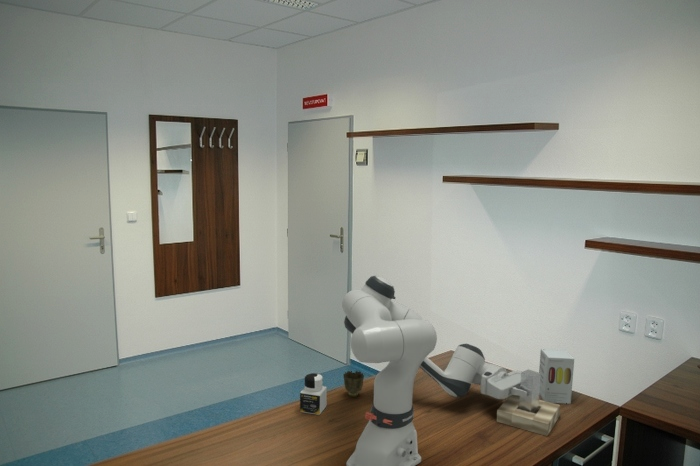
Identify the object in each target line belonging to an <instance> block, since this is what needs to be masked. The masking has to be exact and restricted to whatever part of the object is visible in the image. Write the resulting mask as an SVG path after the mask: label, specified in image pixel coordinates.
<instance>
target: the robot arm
mask: <svg viewBox="0 0 700 466" xmlns="http://www.w3.org/2000/svg"><path fill="white" fill-rule="evenodd" d="M395 292H396V291H395V287H394V286H393V285H392V283H391V282H390V281H389V280H388V279H387V278H385V277H383V276H379V275H378V276H377V275H371V276H370V277H369V278H367V280H366V281H365V284H364V285H363V286H362V287H361V289H357V288H356V289H352V290H350V291H348V292H347V293H346V294H345V295H344V297H343V298H342V303H341V305H342V309H343V312H344V314H345V316H344V321H343V325H344V328H345V329H346V330H347V331H348V332H349V333H350V334H351V337H350V350H351V353H352V354H353V356H354V357H355V359H356V360H357V361H359V362H360V363H363V364H364V363H366V364H380V363H382V364H383V363H387V364H386V366H385V367H383V369H382V370H380V371H379V372H378V373H377V374H376V376H375V378H374V381H373V402H372V405H371V407H370V411H366V412H365V414H364V415H365V417H364V419H365V420H369V421H368V422H367V423H366V426H365V427H364V429H363V431H362V433H361V434H360V437H359V438H358V440H357V442H356V444H355V445H356V446H355V450H354V451H353V453H352V454H351V455H350V457H348V459H347V460H346V463H345V465H346V466H416V465H418V464H420V463H421V462H422V456H421V455H420V453H419V452H418V451H419V449H418V433H417V429H416V427H415V425H414V423H413V420H414V415H415V414H414V413H415V411H414V405H413V394H414V393H413V392H414V382H415V380H416V379H415V378H416V376H417V374H418V371H419V369H421V370H422V371H423V372H424V373H426V374H427V375H428V376H430V378H431V379H433V380H434V381H435V382H436V383H437V384H438V386H440V387H441V388H442V389H443V390H444V391H445V392H446V393H447V394H449V395H450V396H452V397H455V398H462V397H464V396H466V395H468V394H469V391H470V389H471V386H472V384H474V385H479V386H480V393H481V394H482V395H487V396H489V397H492V398H494V399H498V400H505V399H507V398H508V397H509V396H511V395H517V396H523V397H527V396H528V393H529V392H528V391H526V390H520V383H521V372H523V371H521V370H512V371H510V372H508V371H507V369H506V368H505V367H503V366H499V365H497V364H493V363H489V362H486V357H485V355H484V353H483V352H482V350H481V349H480V348H479V347H477V346H475V345H472V344H469V343H462V344H459V345H457V347H456V348H455V350H454V352H453V354H452V356H451V358H450V360H449V363H448V365H446V368H445V369H444V370H443V369H441V368H440V367H439V366H438V365H437V364H435V362H433V361H432V360H431V359H430V358H428V356H429V355H430V354H431V353H432V352H433V351H434V350H435V348H436V345H437V342H438V336H437V331H436V328H435V327H434V325H433V324H432V323H431V322H430V321H429V320H427V319H423V318H422V316H421V315H420V314H418V313H417V312H416V311H414V310H412V308H409V307H408V306H406V305H404V304H402V303H399V302H397V301H396V296H395V294H396V293H395Z"/></svg>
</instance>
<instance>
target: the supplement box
mask: <svg viewBox="0 0 700 466" xmlns="http://www.w3.org/2000/svg"><path fill="white" fill-rule="evenodd" d="M539 353H540V355H539V365H538V366H539V367H538V368H539V370H538V373H541V375H540V390H539V397H541V399H542V401H546V402H550V403H554V404H566V403H567V404H568V405H569V404H570V405H571V403H572V389H573V378H574V367H575V357H573V356H572V355H571V354H570V353H569V351H567V350H566V349H550V348H548V349H547V348H540V352H539Z"/></svg>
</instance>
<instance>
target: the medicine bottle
mask: <svg viewBox="0 0 700 466" xmlns="http://www.w3.org/2000/svg"><path fill="white" fill-rule="evenodd" d="M323 380H324V378H323V375H321V374H320V373H315V372H314V373H308V374H306V375H305V376H304V388H303V389H302V390H301V391H300V392H299V412H300V413H304V414H311V415H318V416H320V415H321V414H322V412H323V411H324V410H325V408H327V404H328V403H327V401H328V400H327V399H328V398H327V397H328V395H327V393H328V391H327V388H328V387H327V386H324V385H323Z"/></svg>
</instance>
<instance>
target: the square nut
mask: <svg viewBox="0 0 700 466" xmlns="http://www.w3.org/2000/svg"><path fill="white" fill-rule="evenodd" d="M519 399H520V396H517V395H511V396H509V397H507V398H506V400H504V402H503V403H502V404H501V405H500V406H499V408H498V409H497V410H496V422H497V423H501V424H502V425H507V426H511V427H514V428H518V429H521V430H524V431H528V432H530V433H535V434H538V435H542V436H545V437H548V436H549V434H550V433H551V431H552V429H553V428H554V426H555V425H556V422H557V421H558V420H559V418H560V415H561V414H560V412H561V405H560V404H559V403H550V402H546V401H543V399H542V400H541V399H539V405H538V412H537V414H535V413H531V412H527V411H524V410H520V409H519Z"/></svg>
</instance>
